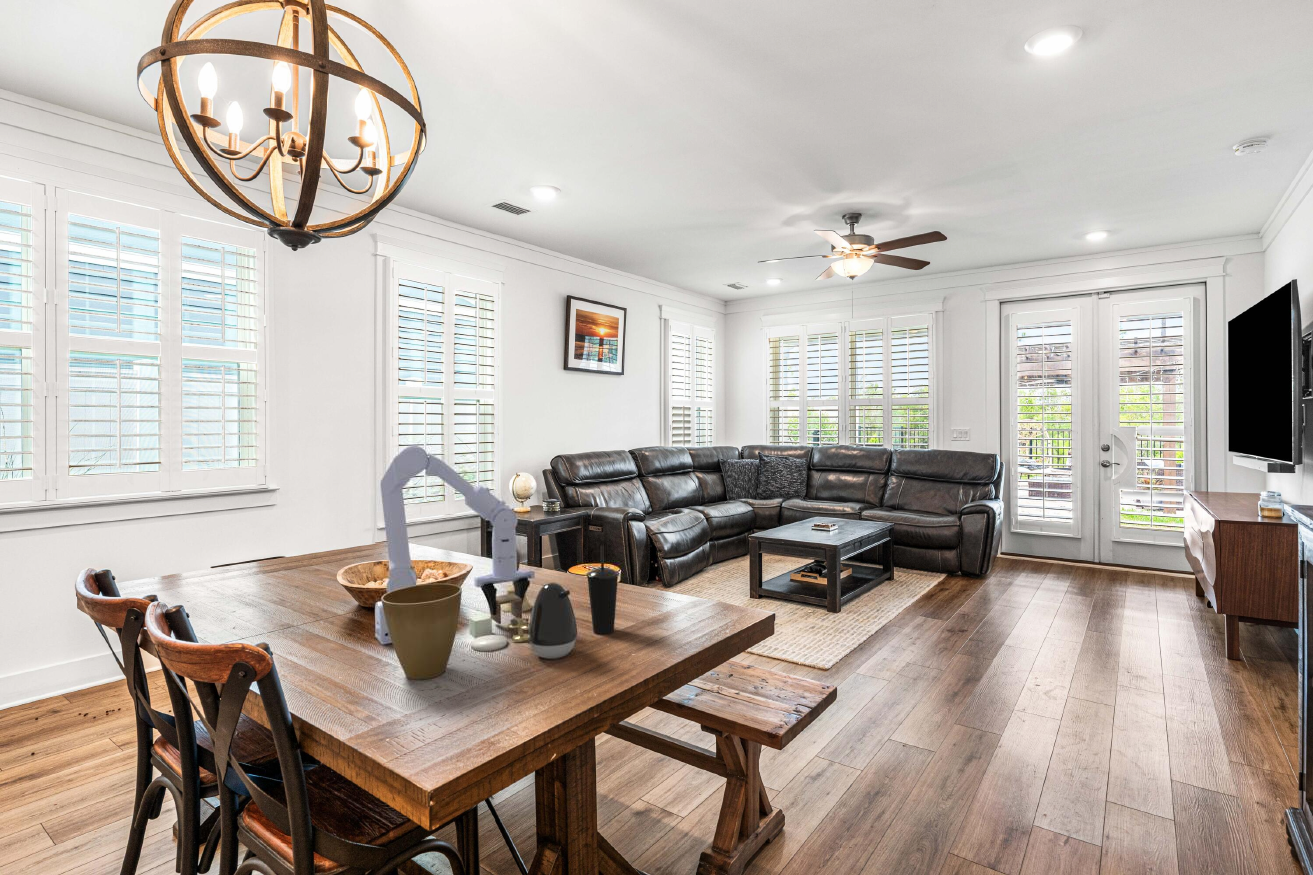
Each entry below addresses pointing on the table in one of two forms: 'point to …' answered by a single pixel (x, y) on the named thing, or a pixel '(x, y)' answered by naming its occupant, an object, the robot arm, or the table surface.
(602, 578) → the drinking cup
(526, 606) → the hand bell
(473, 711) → the table surface
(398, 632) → the plant pot
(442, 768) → the table surface
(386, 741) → the table surface
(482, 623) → the block
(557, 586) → the pump dispenser
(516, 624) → the balance
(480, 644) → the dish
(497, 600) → the cover
